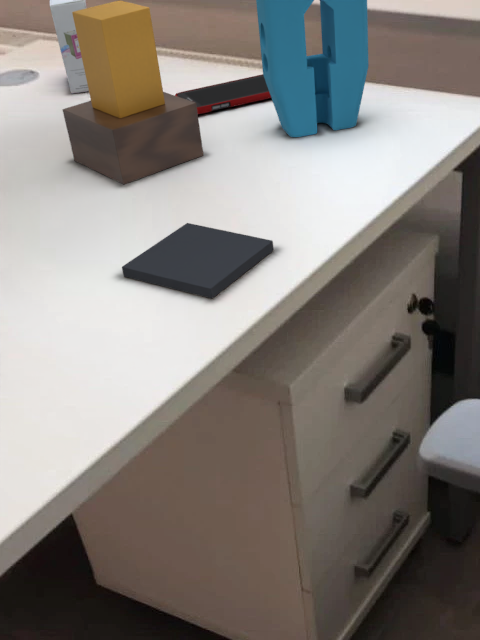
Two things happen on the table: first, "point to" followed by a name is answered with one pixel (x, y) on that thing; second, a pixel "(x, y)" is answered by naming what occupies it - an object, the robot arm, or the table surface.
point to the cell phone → (227, 94)
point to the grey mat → (198, 259)
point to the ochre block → (119, 57)
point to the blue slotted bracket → (314, 63)
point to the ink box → (69, 41)
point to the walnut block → (134, 138)
